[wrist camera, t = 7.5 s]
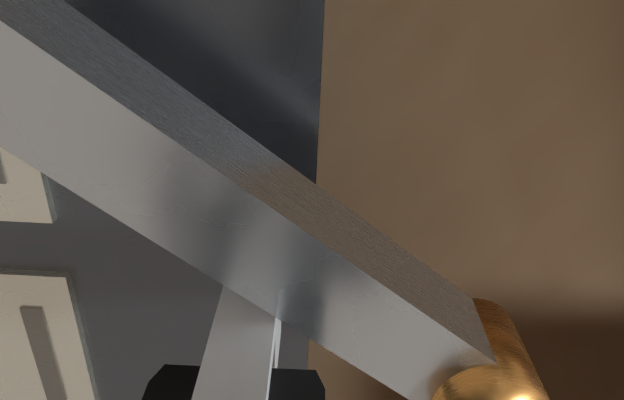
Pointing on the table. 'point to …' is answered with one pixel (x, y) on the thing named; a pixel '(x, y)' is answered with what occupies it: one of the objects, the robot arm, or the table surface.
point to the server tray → (126, 241)
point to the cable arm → (242, 212)
